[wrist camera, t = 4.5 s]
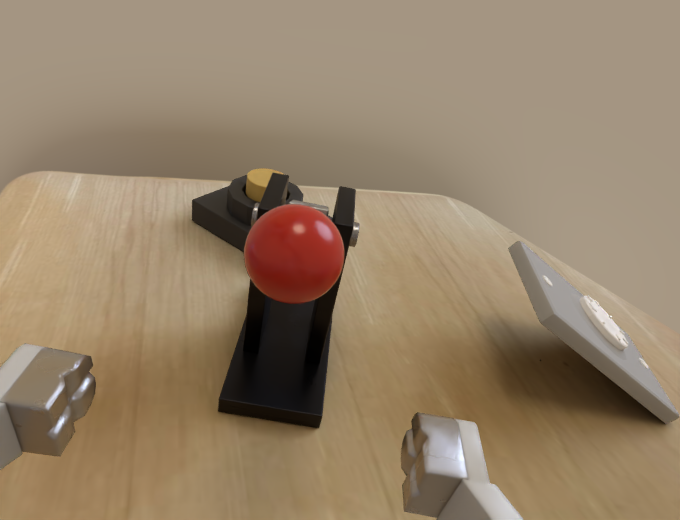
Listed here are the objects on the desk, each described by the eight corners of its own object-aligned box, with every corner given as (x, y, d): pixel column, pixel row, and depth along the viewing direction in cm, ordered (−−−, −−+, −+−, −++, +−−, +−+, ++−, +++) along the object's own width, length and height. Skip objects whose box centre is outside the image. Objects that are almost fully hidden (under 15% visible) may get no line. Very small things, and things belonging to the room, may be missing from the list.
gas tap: (318, 428, 28) (362, 272, 21) (217, 411, 27) (229, 246, 21) (332, 299, 37) (365, 164, 31) (258, 285, 37) (274, 146, 30)
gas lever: (335, 325, 15) (356, 219, 15) (227, 306, 15) (244, 197, 15) (330, 257, 28) (341, 198, 28) (271, 246, 28) (282, 187, 28)
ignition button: (236, 192, 41) (238, 174, 40) (264, 181, 44) (266, 164, 43) (267, 209, 40) (270, 191, 39) (294, 197, 42) (296, 180, 41)
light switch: (694, 413, 32) (567, 304, 28) (617, 448, 35) (489, 355, 30) (637, 328, 39) (528, 230, 35) (576, 363, 42) (467, 277, 37)
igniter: (191, 220, 43) (191, 181, 40) (251, 195, 49) (255, 159, 46) (274, 271, 39) (280, 231, 37) (329, 237, 45) (336, 200, 43)
